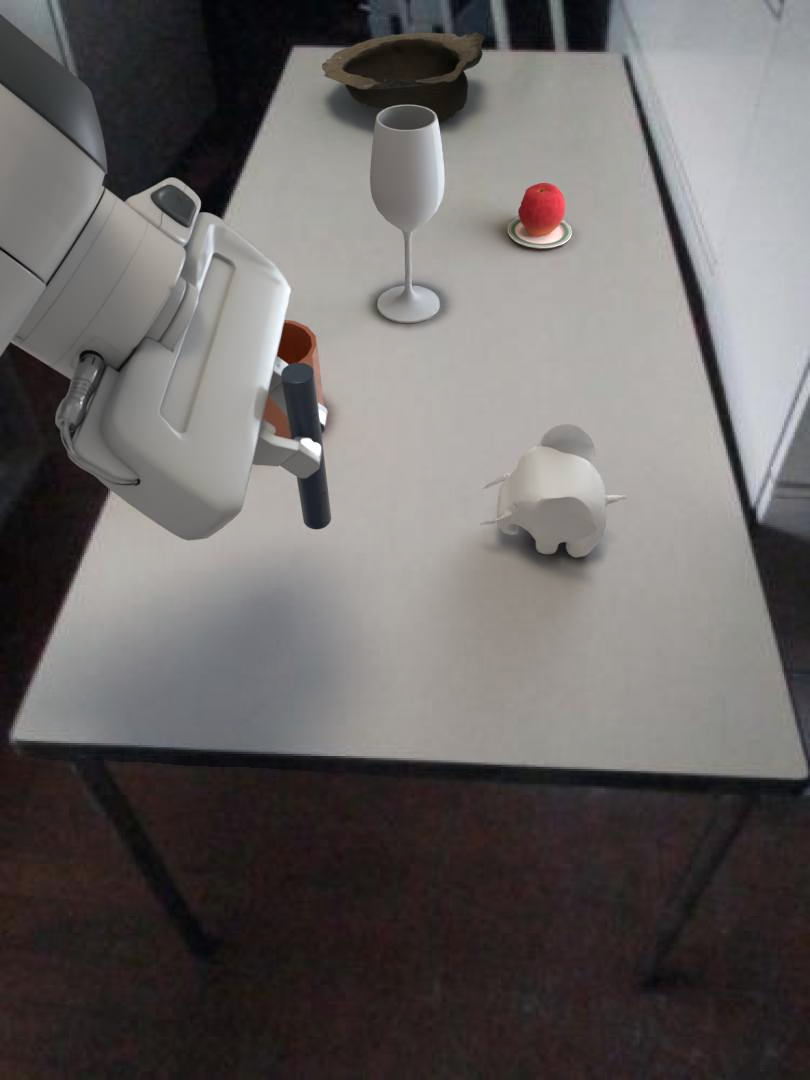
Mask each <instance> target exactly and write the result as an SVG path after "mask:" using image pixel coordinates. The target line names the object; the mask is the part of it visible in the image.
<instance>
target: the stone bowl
mask: <svg viewBox="0 0 810 1080" xmlns="http://www.w3.org/2000/svg"><path fill="white" fill-rule="evenodd" d="M484 40H486V39H485V36H484V34H481V33H479V32H477V31H476V32H474V33H471V34H467V33H466V34H465V33H464V34H463V35H462V36H458V35H457V34H455V33H449V32H447V33H440V32H439V33H437V32H415V33H399V34H388V35H383V36H381V37H375V38H371V39H368V40H365V41H363V42H358V43H356V44H354V45H352V46H349V47H346V48H343V49H341V50H337V51H336V52H334V53H333V54H332V55H331V57H330V58H327V59H326V60H325V61H324V62H323V63H321V69H322V71H324V75H323V76H324V77H326V78H328V79H331V80H333V81H335V82H338V83H339V84H343V85H345V88H346V90H347V93H349V95H350V96H351V98H352V99H354V101H356V102H357V103H360V104H361V105H363V106H366V107H367V108H369V107H370V108H375V109H381V110H384V109H386V108H389V107H392V106H397V105H418V106H423V107H426V108H428V109H431V110H432V111H433V112H435V114H436V115H437V119H438V124H439V123H442V122H444V121H447V120H449V119H452V118H453V117H454V116H455V115H456V113H457V112H460V111H461V110H462V109H464V107H465V105H466V103H467V102H468V91H469V82H468V81H469V80H468V77H467V74H466V72H465V71H466V70H469V69H472V68H474V67H476V66H477V65H478V64H479V63H480V61H481V59H482V57H483V54H484V53H483V50H482V44H483V43H484Z"/></svg>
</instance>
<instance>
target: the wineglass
mask: <svg viewBox="0 0 810 1080" xmlns="http://www.w3.org/2000/svg"><path fill="white" fill-rule="evenodd" d="M374 122H375V123H374V130H373V137H372V145H371V154H370V155H371V157H370V169H369V171H370V172H369V187H370V193H371V199H372V201H373V203H374V206H375V208H376V210H377V212H378V213H379V214H380V215H381V216H382V217H383V218H384V220H386V222H388V223H390V224H391V225H392V226H394V227H395V228H396V229H398V230H400V232H401V233H402V234H403V235H402V236H403V241H404V285H399V286H394V287H392V288H388V289H387V290H386V291H384V292H383V293H381V294H380V295H379V297H378V299H377V303H376V304H377V305H376V306H377V309H378V312H379V313H380V314H381V315H382V317H384V318H386V319H387V320H390V321H392V322H396V323H400V324H416V323H421V322H424V321H427V320H429V319H431V318H432V317H434V316H435V315H436V314H437V313H438V312H439V310H440V306H441V305H440V304H441V302H440V301H441V300H440V298H439V296H438V295H437V294H436V293H435V292H434V291H432V290H431V289H429V288H426V287H424V286H419V285H412V240H413V234H414V232H415V231H416V230H417V229H419V228H420V227H422V226H423V225H424V224H425V223H428V221H429V220H431V218H432V217H433V216H434V214H436V212H437V211H438V210H439V208H440V205H441V203H442V200H443V198H444V192H445V163H444V152H443V144H442V143H443V142H442V137H441V130H440V124H439V123H438V119H437V115H436V114H435V112H433V111H432V110H431V109H428V108H426V107H423V106H418V105H397V106H392V107H389V108H386V109H381V111H379V112H378V113H377V114H376V117H375V121H374Z"/></svg>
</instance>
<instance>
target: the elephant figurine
mask: <svg viewBox="0 0 810 1080" xmlns="http://www.w3.org/2000/svg"><path fill="white" fill-rule="evenodd" d="M596 450H597V449H596V447H595V444H594V441H593V440H592V438H591V436H590V435H589V434H588V433H587V432H586V431H585V430H583V428H581V427H579V426H577V425H575V424H571V423H564V424H559V425H555V426H553V427H551V428H550V429H549V430H547V431H546V432H545V433H544V434H543V435H542V437H541V439H540V441H539V443H538V444H536V446H534V447H531V448H530V449H529V450H527V451H526V452H525V453H523V455H521V457H520V458H519V460H518V463H517V465H516V466H515V469H514V470H513V471H512V472H511V473H504V474H502V475H501V476H499V477H498V478H496V479H494V480H493V481H491V482H489V483H487V484H486V485H485V486H484V487H483V488H482V489H483V490H485V489H487V490H488V489H489V488H492V487H494V486H496V485H497V484H499V483H501V484H500V486H499V488H498V494H497V504H496V505H497V506H496V508H497V509H496V518H493V519H490V520H485V521H483V522H481V523H479V525H480V526H481V525H482V526H483V525H494V524H497V525H498V526H497V527H498V528H499V530H500V531H501V532H502V533H504V534H506V535H510V536H512V535H513V536H514V535H517V534H519V533H520V527H521V528H522V529H524V530H525V531H527V533H529V534H530V535H531V537H532V538H533V539H534V540H535V549H536V551H537V552H538V553H540V554H542V555H552V554H555V553H556V552H557V550H558V548H559V544H561V543H565V551H566V552H567V554H568V555H570V556H571V557H573V558H581V557H585V556H587V555H588V554H589V553H590V552H591V551H593V550H594V548H596V547H597V545H599V544H600V542H601V540H602V538H603V536H604V533H605V529H606V518H607V517H606V515H607V506H608V505H610V504H614V503H616V502H619V501H621V500H626V499H627V496H626V495H607V494H606V490H605V484H604V482H603V478H602V477H601V475H600V473H599V472H598V470H597V469H596V468H595V466H594V465H593V464H592V463H591V462H593V460H594V459H595V458H596V454H597V453H596Z"/></svg>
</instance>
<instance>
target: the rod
mask: <svg viewBox="0 0 810 1080" xmlns="http://www.w3.org/2000/svg"><path fill="white" fill-rule="evenodd" d="M281 378H282V384H283V391H284V397H285V404H286V410H287V417H288V423H289V430H290V436H291V439H292V440H293V439H294V438H295V437H296V436H298V435H299V434H300V433H303V434H305V435H306V436H308V437H310V438H311V439H312V441H313V442H317V443H318V444H320V445H321V447H322V454H321V461H320V468H319V469H318V470H317V471H316V472H314V473H313V474H312V475H310V476H309V477H308V478H303V479H302V478H298V477H297V476H296V482H297V488H298V495H299V500H300V508H301V514H302V521H303V523H304V525H305V526H306V527H307V528H309V529H311V530H322V529H325V528H326V527H328V526H329V525H330V523H331V522H332V511H331V504H330V503H331V502H330V495H329V487H328V486H329V485H328V479H327V478H328V477H327V470H326V461H325V453H324V444H323V443H324V442H323V436H322V435H323V433H321V425H320V416H319V408H318V399H317V390H316V382H315V373H314V369H313V368H312V367H311V366H310V365H308V364H305V363H293V364H290V365H288V366H286V367H285V368H284V369H283V370H282V373H281Z"/></svg>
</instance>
